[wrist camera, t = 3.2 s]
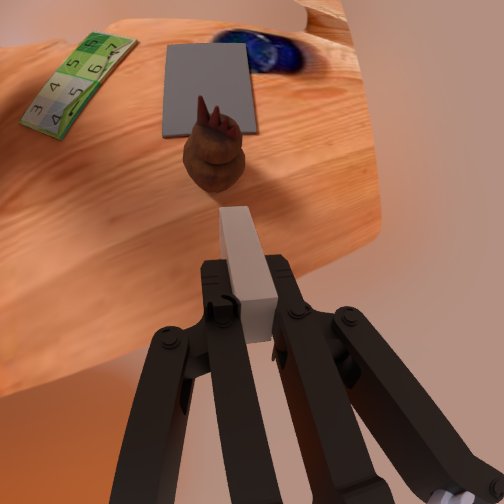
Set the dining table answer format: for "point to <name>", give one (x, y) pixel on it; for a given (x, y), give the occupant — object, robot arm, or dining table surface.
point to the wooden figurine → (214, 150)
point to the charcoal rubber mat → (206, 86)
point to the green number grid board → (75, 83)
